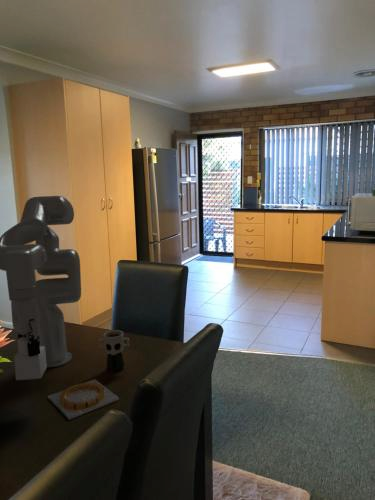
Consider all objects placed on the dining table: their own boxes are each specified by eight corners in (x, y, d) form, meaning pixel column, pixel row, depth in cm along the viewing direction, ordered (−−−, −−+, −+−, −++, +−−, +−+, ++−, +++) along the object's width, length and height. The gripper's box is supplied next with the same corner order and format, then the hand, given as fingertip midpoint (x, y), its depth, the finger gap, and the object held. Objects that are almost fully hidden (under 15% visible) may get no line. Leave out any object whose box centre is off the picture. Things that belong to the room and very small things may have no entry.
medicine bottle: (23, 369, 125) (19, 331, 123) (47, 367, 126) (43, 330, 124) (15, 380, 118) (11, 341, 116) (41, 379, 119) (37, 339, 117)
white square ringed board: (48, 398, 129) (47, 392, 129) (95, 381, 139) (94, 375, 138) (68, 420, 117) (68, 413, 116) (118, 399, 126) (118, 393, 126)
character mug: (98, 373, 144) (96, 338, 142) (101, 364, 151) (99, 331, 149) (130, 371, 145) (128, 336, 143) (131, 363, 152) (129, 329, 150)
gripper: (0, 289, 122) (7, 345, 125) (19, 302, 109) (26, 364, 112) (26, 284, 127) (32, 338, 130) (47, 296, 113) (53, 356, 117)
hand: (29, 350), depth 121 cm, fingers closed on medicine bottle, 7 cm apart
